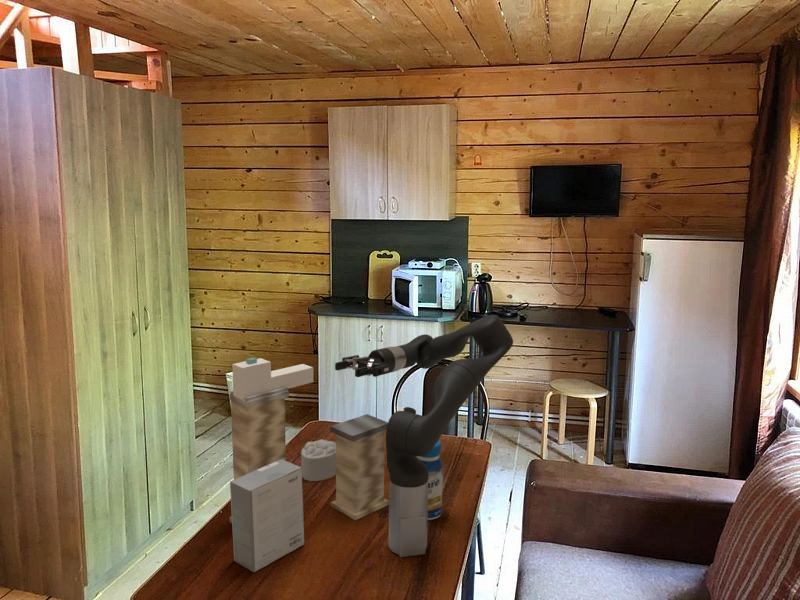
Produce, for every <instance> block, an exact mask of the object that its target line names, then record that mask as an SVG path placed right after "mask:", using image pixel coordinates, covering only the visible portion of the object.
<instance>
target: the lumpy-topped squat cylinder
mask: <svg viewBox="0 0 800 600" xmlns="http://www.w3.org/2000/svg"><path fill="white" fill-rule="evenodd" d="M300 458H301V459H300V460H301V462H300V465H301V466H300V467H301V468H302V477H303V478H304V479H303V478H302V479H303V480H304V481H307V480H308V482H320V481H324V480H325V481H326V480H328V479H331V478H333V477H334V476H336V441H332V440H331V441H330V440H326V439H323V438H321V439H319V440H315V441H307V442H306V443H305V445H304V447H302V449H301V451H300Z"/></svg>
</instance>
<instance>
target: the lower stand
mask: <svg viewBox="0 0 800 600" xmlns="http://www.w3.org/2000/svg"><path fill="white" fill-rule="evenodd" d="M387 424H388V421H386V420H383V419H380V418H378V417H376V416H373V415H370V414H364V415H360V416H358V417H357V416H356V417H355V418H352V419H351V418H350V419H348V420H345V421H343V422H338V423H336V424H332V425H330V426H329V432H330V433H332V434H334V435H335V443H336V475H335V499H334V500H333V501H331V502H330V507H331V508H333V509H335V510H336V511H338V512H340V513H342V514H343V515H345V516H347V517H349V518H350V519H352V520H354V521H357V520H359V519H361V518H363V517H366V516H368V515H370V514H372V513H374V512H377V511H378V510H380V509H382V508H384V507H387V506H389V499H386V498H385V497H384V496H385V492H384V491H385V431H386V429H387Z"/></svg>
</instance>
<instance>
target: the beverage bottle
mask: <svg viewBox="0 0 800 600" xmlns="http://www.w3.org/2000/svg"><path fill="white" fill-rule="evenodd" d="M441 454H442V442H441V441H440V439H439V440H438V441H437V443H436V445H435V446H434V447H433V449H432V450H431V451H430V452H429V453H428V454H427V455H425V456H416V457H417V458H418V459H419V460H420V461H422V462H423V463H424V464H425V465H426V466H427V468H428V472H429V476H428V515H427V521H432V520H435V519H438V518H439V517H441V516H442V513H443V484H444V482H443V481H444V472H443V470H444V464H443V461H442V459H441V457H440V456H441Z"/></svg>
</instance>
